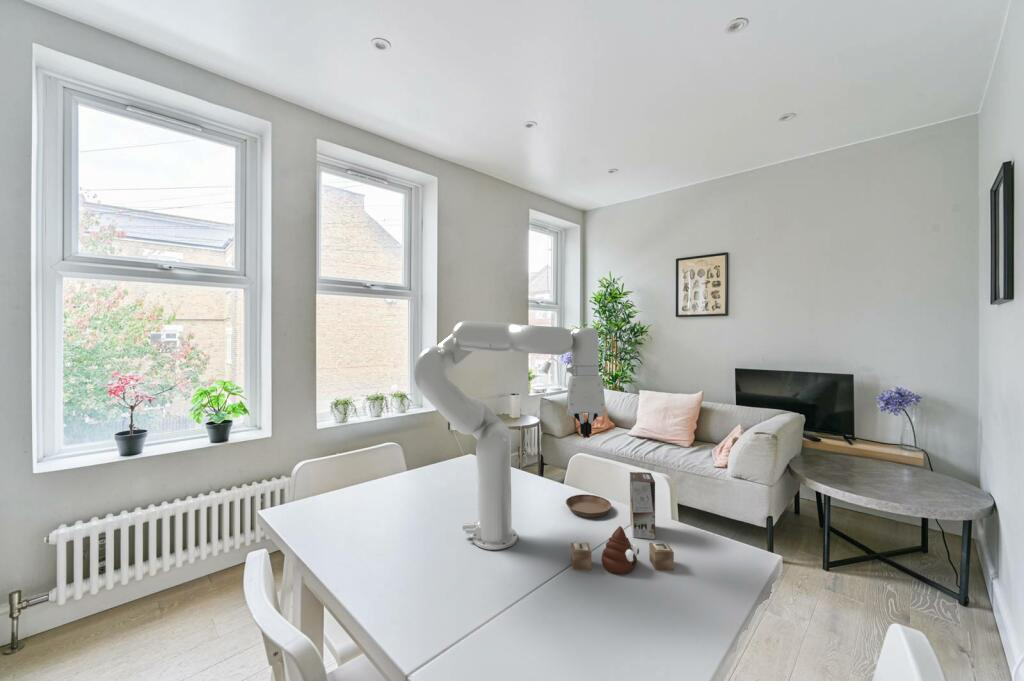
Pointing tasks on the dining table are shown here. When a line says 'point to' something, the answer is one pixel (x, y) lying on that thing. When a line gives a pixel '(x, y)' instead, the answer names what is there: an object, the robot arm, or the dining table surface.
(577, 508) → the saucer
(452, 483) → the dining table surface
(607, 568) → the poop emoji
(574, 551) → the letter i block
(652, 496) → the coffee box
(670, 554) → the letter l block
